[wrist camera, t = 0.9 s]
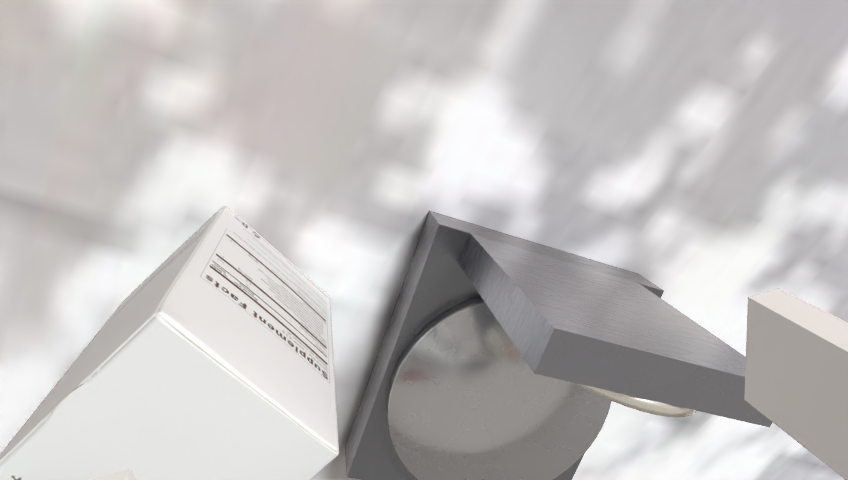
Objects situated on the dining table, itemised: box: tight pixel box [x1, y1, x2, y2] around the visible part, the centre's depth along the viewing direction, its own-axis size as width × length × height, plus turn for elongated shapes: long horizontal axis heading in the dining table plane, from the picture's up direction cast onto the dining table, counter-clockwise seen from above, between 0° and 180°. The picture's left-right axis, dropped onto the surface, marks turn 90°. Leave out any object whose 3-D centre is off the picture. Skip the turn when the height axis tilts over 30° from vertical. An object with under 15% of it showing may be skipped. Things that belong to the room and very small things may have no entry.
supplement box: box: [0, 206, 339, 480], centre depth 26 cm, size 9×9×15 cm
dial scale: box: [345, 211, 772, 480], centre depth 31 cm, size 16×18×15 cm
